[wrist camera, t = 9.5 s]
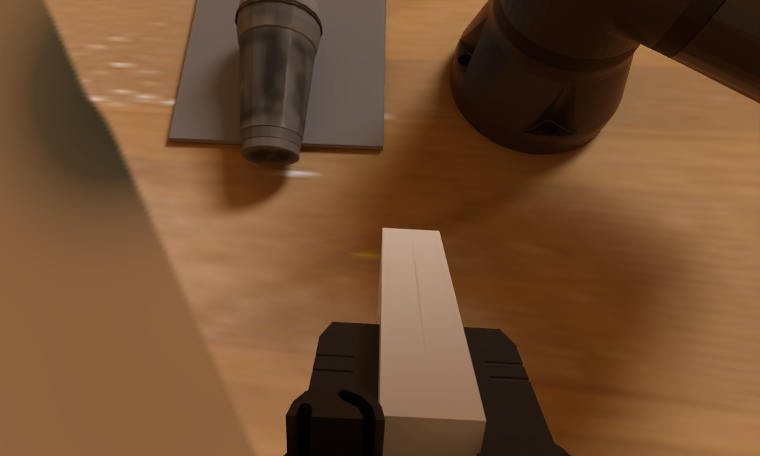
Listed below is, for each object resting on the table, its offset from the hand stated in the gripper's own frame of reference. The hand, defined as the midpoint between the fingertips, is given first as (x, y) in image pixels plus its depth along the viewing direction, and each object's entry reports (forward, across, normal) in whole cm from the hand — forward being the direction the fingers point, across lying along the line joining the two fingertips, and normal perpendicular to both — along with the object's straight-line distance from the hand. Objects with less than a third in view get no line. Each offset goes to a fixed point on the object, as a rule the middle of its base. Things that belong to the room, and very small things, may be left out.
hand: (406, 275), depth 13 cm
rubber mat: (+39, -10, +6) cm, 41 cm away
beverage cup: (+26, -10, -4) cm, 28 cm away
